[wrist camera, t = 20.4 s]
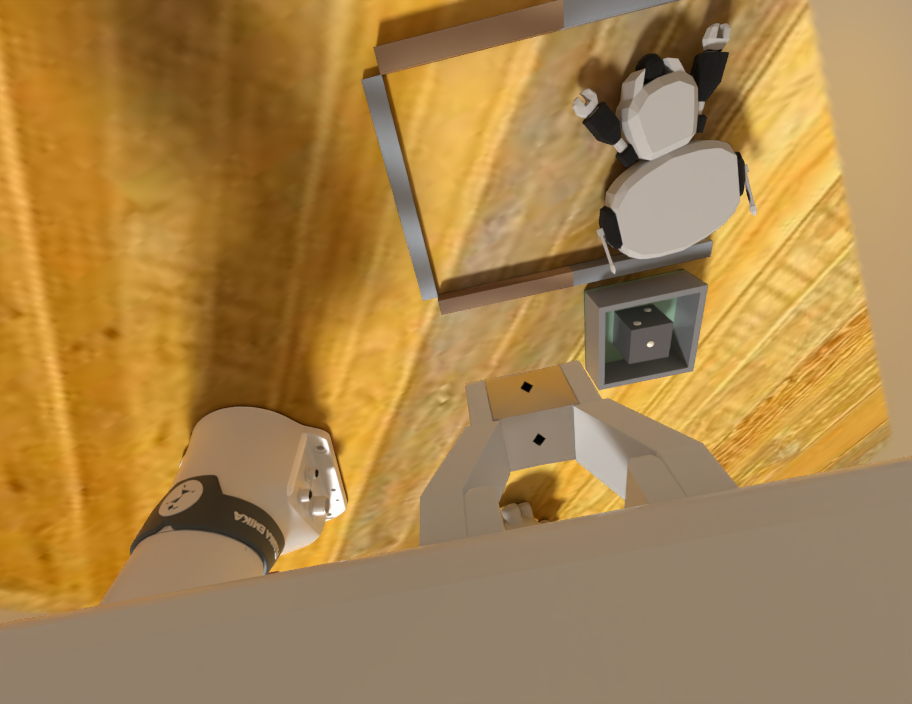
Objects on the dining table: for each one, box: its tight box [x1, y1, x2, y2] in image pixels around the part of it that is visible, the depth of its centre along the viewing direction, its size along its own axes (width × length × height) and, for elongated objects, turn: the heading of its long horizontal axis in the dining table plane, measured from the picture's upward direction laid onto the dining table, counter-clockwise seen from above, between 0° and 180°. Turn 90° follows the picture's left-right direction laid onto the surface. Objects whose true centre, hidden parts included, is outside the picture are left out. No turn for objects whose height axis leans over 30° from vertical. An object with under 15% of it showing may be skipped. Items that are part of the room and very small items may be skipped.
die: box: [613, 304, 674, 364], centre depth 39 cm, size 4×4×4 cm
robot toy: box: [573, 23, 757, 274], centre depth 31 cm, size 12×4×15 cm
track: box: [362, 0, 713, 315], centre depth 32 cm, size 21×28×2 cm
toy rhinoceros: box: [501, 502, 550, 531], centre depth 56 cm, size 7×12×8 cm, turn 51°
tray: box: [584, 269, 708, 390], centre depth 40 cm, size 10×10×4 cm
